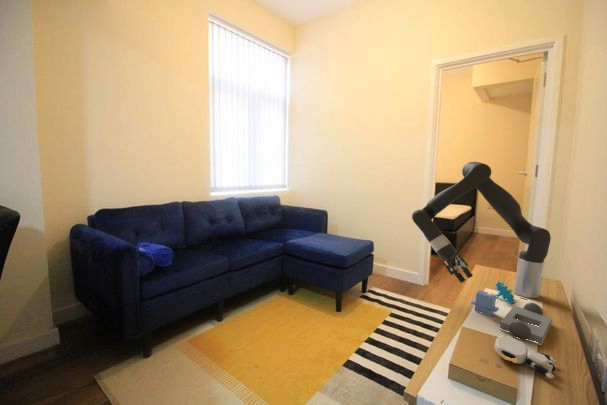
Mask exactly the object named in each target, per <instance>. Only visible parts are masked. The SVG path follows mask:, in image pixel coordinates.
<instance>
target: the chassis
mask: <svg viewBox="0 0 607 405" xmlns="http://www.w3.org/2000/svg"><path fill="white" fill-rule="evenodd" d="M517 319H518V320H517ZM552 320H553V318H552V317H551V316H547V315H545V314H544V310H543V308H542V307H541V305H539V304H537V303H535V302H528V303H526V304H524V306H523V307H520V306H517V305H514V306H513V307H511V309H510V310H509V311H508V313H506V315H505V316H504V317H503V318H502V319H501V321H500V324H499V329H500V328H501V329H503V330H506V331H509V332H510V333H511V335H512V336H513V337H514V336H515V337H514V338H516V337H518V338H520V339H522V340H521V341H523V340H524V341H528V340H532V341H536V342H538V344H537V345H539V346H542V344H543V342H544V340H545V338H546V337H547V334H548V332H549V331H550V328H551V326H552ZM528 323H529V324H528ZM531 324H533V325H531ZM534 325H537V326H539V327H537V326H534ZM510 333H509V334H510ZM520 339H519V340H520ZM526 339H528V340H526Z"/></svg>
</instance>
